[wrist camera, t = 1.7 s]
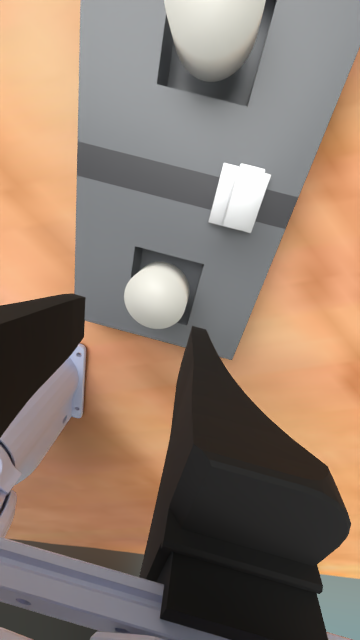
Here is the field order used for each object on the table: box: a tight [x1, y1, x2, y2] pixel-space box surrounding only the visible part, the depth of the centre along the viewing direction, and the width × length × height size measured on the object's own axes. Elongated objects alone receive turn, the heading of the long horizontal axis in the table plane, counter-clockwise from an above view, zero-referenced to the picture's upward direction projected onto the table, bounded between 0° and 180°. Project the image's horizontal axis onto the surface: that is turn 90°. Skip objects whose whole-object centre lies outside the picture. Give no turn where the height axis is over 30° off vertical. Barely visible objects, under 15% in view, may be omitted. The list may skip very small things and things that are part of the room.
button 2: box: [164, 0, 266, 82], centre depth 9 cm, size 4×4×2 cm
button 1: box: [124, 262, 190, 329], centre depth 15 cm, size 4×4×2 cm
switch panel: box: [75, 0, 360, 360], centre depth 14 cm, size 20×12×2 cm, turn 167°
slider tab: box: [208, 163, 271, 233], centre depth 11 cm, size 3×2×3 cm
